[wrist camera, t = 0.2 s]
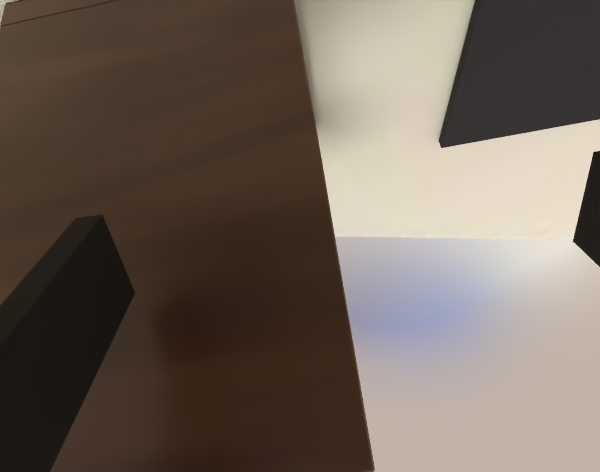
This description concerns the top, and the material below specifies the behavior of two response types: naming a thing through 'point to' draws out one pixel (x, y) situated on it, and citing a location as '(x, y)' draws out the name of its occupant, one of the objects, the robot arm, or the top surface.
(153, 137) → the hook board
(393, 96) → the top surface
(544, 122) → the mat
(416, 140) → the top surface
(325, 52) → the top surface
